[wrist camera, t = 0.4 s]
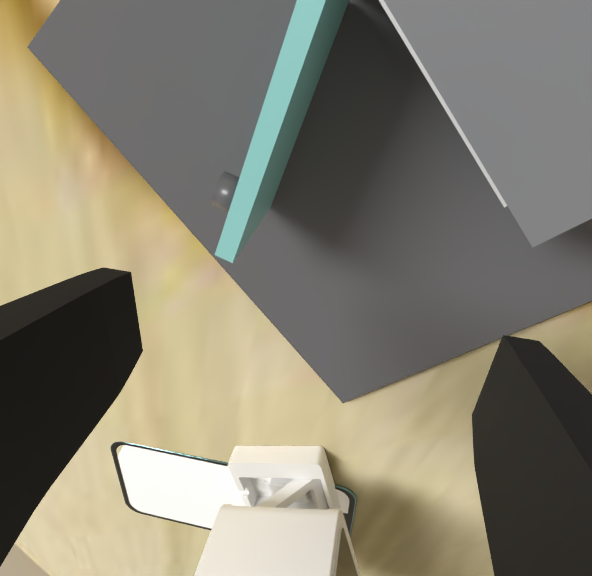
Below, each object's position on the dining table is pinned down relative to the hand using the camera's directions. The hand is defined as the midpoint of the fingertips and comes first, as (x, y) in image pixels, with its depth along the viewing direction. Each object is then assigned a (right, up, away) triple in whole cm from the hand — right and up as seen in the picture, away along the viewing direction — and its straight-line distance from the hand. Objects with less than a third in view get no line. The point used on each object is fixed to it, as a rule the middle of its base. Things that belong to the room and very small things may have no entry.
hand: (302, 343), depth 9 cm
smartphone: (-4, -13, +21) cm, 25 cm away
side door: (0, +8, +7) cm, 10 cm away
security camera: (0, -10, +18) cm, 21 cm away
